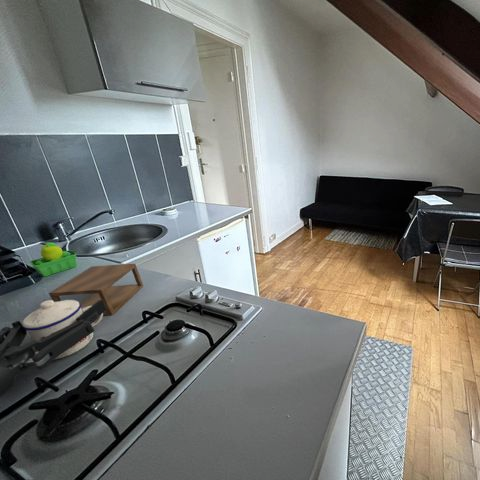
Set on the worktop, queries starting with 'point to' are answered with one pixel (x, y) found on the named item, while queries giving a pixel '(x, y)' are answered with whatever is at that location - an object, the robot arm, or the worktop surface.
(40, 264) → the fruit basket
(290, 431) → the worktop surface
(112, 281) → the rack
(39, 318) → the teacup with lid
